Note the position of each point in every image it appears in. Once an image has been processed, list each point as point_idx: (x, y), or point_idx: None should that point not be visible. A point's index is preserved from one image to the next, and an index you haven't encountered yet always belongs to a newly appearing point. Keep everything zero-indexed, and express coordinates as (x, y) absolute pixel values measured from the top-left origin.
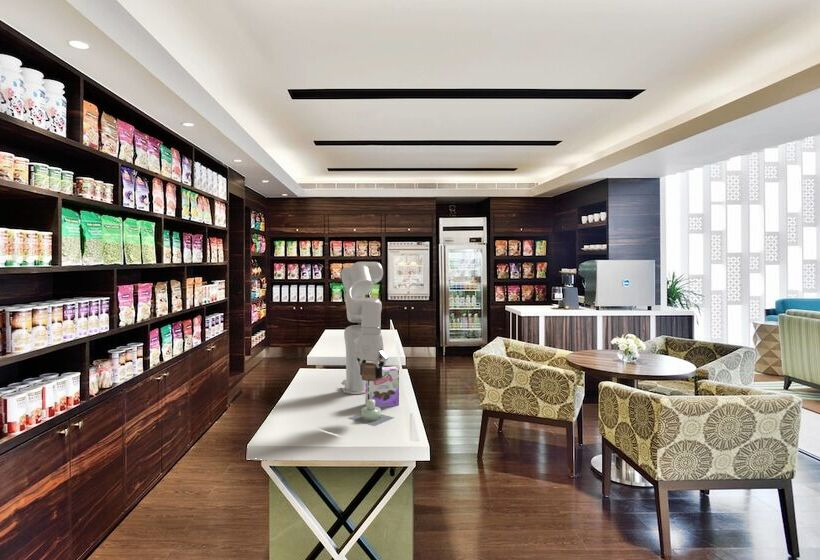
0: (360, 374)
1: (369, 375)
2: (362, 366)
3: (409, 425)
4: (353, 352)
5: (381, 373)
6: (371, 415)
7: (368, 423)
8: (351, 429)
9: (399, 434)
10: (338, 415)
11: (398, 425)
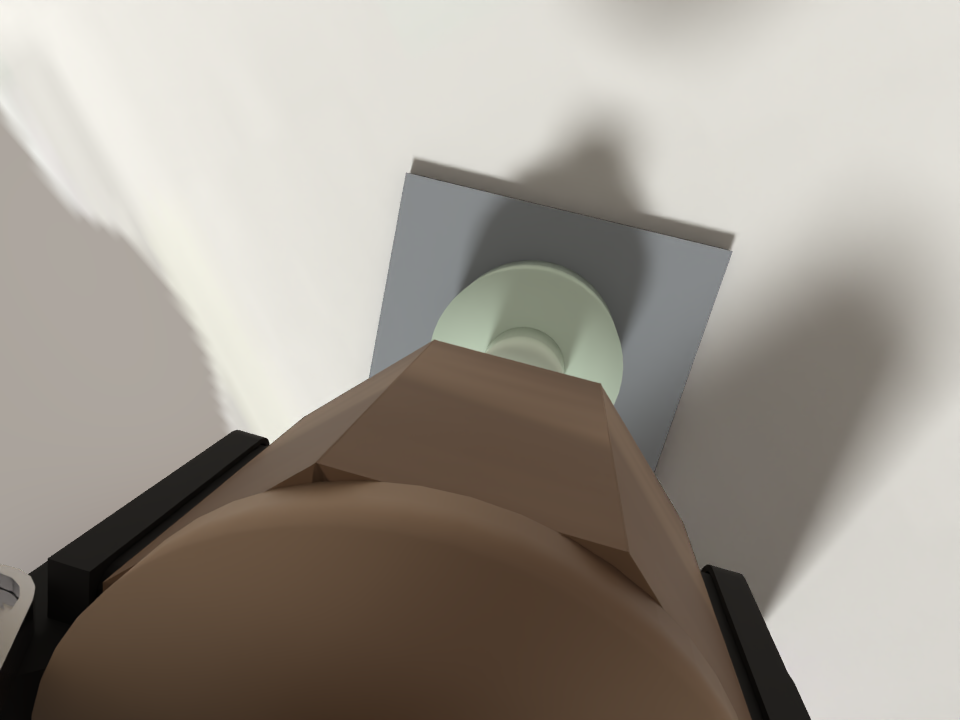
0: (737, 576)
1: (363, 399)
2: (608, 578)
3: (203, 336)
4: None
5: None
6: (478, 278)
7: (484, 211)
8: (572, 38)
9: (165, 124)
10: (876, 328)
11: (271, 304)
